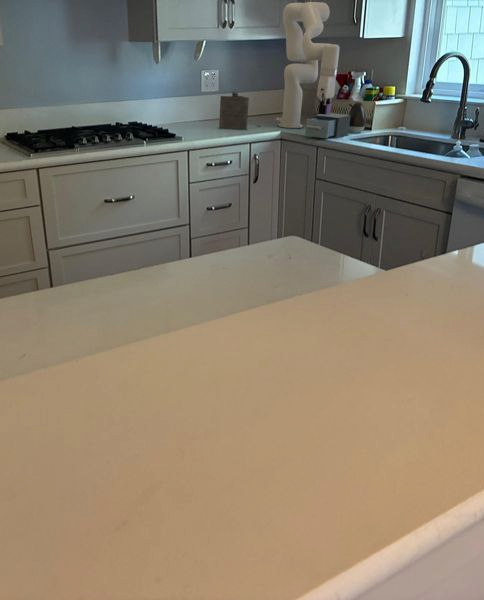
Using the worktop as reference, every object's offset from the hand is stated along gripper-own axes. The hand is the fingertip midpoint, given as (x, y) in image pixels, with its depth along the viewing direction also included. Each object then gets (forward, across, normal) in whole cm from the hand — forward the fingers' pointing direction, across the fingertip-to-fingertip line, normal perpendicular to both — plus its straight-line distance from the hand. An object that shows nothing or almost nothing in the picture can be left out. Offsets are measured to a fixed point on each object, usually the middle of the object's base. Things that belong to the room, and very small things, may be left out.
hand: (324, 113), depth 293 cm
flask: (+11, +7, -46) cm, 48 cm away
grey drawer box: (+11, -11, 0) cm, 16 cm away
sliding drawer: (+10, +2, 0) cm, 11 cm away
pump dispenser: (+12, -29, +5) cm, 31 cm away
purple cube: (0, 0, 0) cm, 0 cm away
